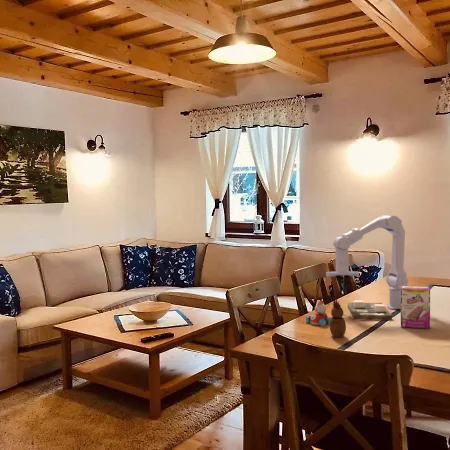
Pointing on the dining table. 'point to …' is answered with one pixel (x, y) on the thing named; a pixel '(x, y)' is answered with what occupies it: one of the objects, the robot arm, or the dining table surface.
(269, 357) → the dining table surface
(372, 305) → the switch panel
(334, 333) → the wooden figurine
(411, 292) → the candy bar box
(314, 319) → the toy car
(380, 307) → the tab
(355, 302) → the tab
